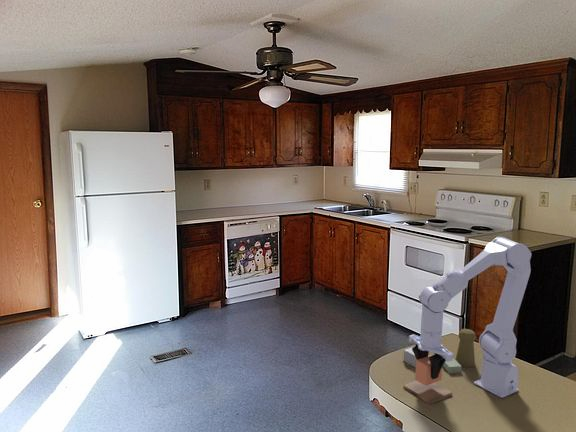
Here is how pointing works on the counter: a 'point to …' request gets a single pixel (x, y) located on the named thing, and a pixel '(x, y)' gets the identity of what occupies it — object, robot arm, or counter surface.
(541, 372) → the counter surface
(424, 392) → the walnut board
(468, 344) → the cork
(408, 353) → the white square brick
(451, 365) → the flat olive brick
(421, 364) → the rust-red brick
